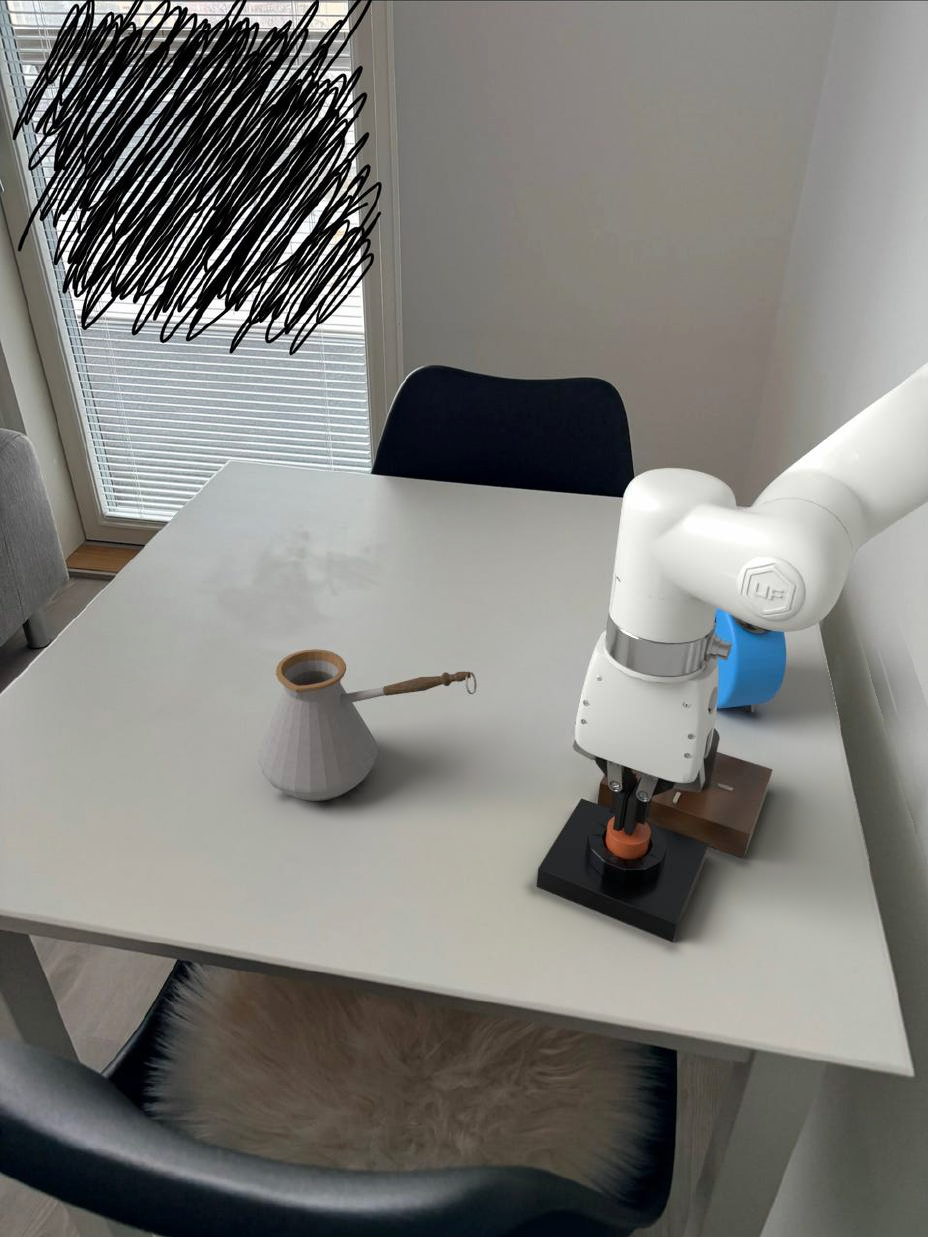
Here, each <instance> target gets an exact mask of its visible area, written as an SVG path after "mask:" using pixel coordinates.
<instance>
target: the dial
mask: <svg viewBox="0 0 928 1237" xmlns="http://www.w3.org/2000/svg"><path fill="white" fill-rule="evenodd" d="M720 738H721V737H720V733H719V731H718V730H717V728H715V727H714V731H713V737H712V742H711V747H710V750H709V753H708V756H707V758H703V761H704V771H705V782H704V784H703V787H702V789H703V788H705V787H707V786H708V785H709V784H710V782H711V778H712V774H713V769H714V764H715V759H716V754H717V752H718V749H719V745H720Z"/></svg>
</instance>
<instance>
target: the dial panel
mask: <svg viewBox="0 0 928 1237" xmlns="http://www.w3.org/2000/svg"><path fill="white" fill-rule="evenodd" d="M632 772H633V773H634V774H636V778H638V780H639V779H640V778H641V777H642V776H643V773H644V772H641V771H638V770H635V769H633V770H632ZM772 774H773V768H770V767H766V766H764V765H760V764H757V763H754V762H751V761H747V760H744V759H741V758H738V757H735V756H731V755H729V754H725V753H723V752H720V751H717V754H716V759H715V764H714V769H713V774H712V778H711V782H710V784H709V785H708V786H707V787H705V788H703V789H701V791H700V792H689V791H682V790H677V789H676V788H672V789H671V790H668V791H666V792H663V793H660V794H658V795H655V796H653V797H652V801H651V807H650V812H649V816H648V819H647V820H648V821H650V822H651V823H652V824H655V825H658V826H661V827H663V828H666V829H669V830H672V831H675V832H677V833H680V834H683V835H686V836H689V837H691V838H694V839H697V840H700V841H703V842H705V843H708V844H709V845H708V847H711V848H713V849H716V850H719V851H722V852H724V853H728V854H729V855H733V856H736V857H739V858H741V859H745V857H746V854H747V852H748V849H749V846H750V844H751V843H750V842H751V839H752V837H753V834H754V831H755V828H756V826H757V822H758V819H759V816H760V814H761V811H762V808H763V805H764V802H765V801H766V800H765V799H766V796H767V794H768V790H769V786H770V782H771V778H772ZM637 782H638V781H637ZM598 788H599V789H598V796H597V802H596V804H599V805H602V806H605V807H607V808H610V804H611V797H612V790H611V789H610V788H609V786H608V779H607V777H606V776H605V775H604V774H603V777H602V778H601V780H600V782H599V786H598Z"/></svg>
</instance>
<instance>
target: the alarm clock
mask: <svg viewBox="0 0 928 1237" xmlns="http://www.w3.org/2000/svg"><path fill="white" fill-rule="evenodd" d="M714 623H716V627H715V632H717V637H719V638H722V640H723V641H727V642H730V643H732V645H731V650H730V654H729V657H728V659H727V660H723V659H719V658H717V660H718V672H719V684H718V700H717V709H726V708H727V709H729V708H736V707H745V706H746V707H747V706H749V711H750V712H751V713H754V711H755V705H762V704H766V703H768V702H770V701H771V700H772V699H773V698H774V697H775V696H776V695H777V694H778V692H779V691H780V689H781V686H782V683H783V681H784V677H785V673H786V666H787V642H786V635H785V632H780V631H772V630H768V629H764V628H760V627H757V626H755V625H752V624H749V623H747V622H745V621H743V620H741V619H738V618H736V617H734V616H732V615H730V614H728V613H726V612H724V611H722V610H720V609H718V608H717V611H716V616H715V622H714Z"/></svg>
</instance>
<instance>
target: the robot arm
mask: <svg viewBox="0 0 928 1237" xmlns="http://www.w3.org/2000/svg"><path fill="white" fill-rule="evenodd" d="M927 503H928V361H927V362H926V363H925V364H923V365H922V366H920V367H919V368H918V369H917V370H916V371H914V372H913V373H912V374H910V376H908V377H907V378H906V379H905V380H903V381H902V382H901V383H899V384H898V385H897V386H896V387H894V388H892V389H891V390H890V391H888V392H887V393H885V394H884V395H882V396H881V397H880V398H878V399H877V400H875V401H874V402H873V403H871V404H870V405H869V406H867V407H865V409H863V410H861V411H860V412H859V413H858V414H856V415H855V416H853V417H852V418H851V419H849V420H848V421H847V422H846V423H844V424H843V425H842V426H841V427H839V428H837V429H836V430H835V431H834V432H833V433H832V434H830V435H829V436H828V437H826V438H825V439H824V440H823V441H821V442H820V443H819V444H817V445H816V446H815V447H814V448H812V449H811V450H809V451H808V452H807V453H806V454H804V455H803V456H801V458H799V459H798V460H796V461H795V462H794V463H793V464H791V465H790V466H789V467H787V469H785V470H784V471H783V472H782V473H781V474H780V475H778V476H777V477H776V478H774V480H772V482H770V483H769V484H768V486H766V487H765V489H763V491H762V492H761V493H760V494H759V495H758V497H757V498H756V499H755V500H754V502H753V503H752V505H751V506H750V507H745V508H739V507H738V505H737V500H736V496H735V493H734V492H733V490H732V489H731V487H730V486H729V485H728V484H727V483H726V482H724V481H723V480H722V479H721V478H718V477H716V476H714V475H711V474H709V473H706V472H702V471H698V470H694V469H689V468H681V467H664V468H663V467H662V468H654V469H650V470H647V471H644V472H642V473H640V474H639V475H636V476H635V477H634V478H633V479H632V480H631V481H630V482H629V483H628V485H627V487H626V489H625V491H624V493H623V497H622V503H621V509H620V518H619V526H618V527H619V528H618V534H617V541H616V543H617V544H616V548H615V558H614V566H613V575H612V582H611V590H610V600H609V605H608V606H609V608H608V614H607V622H606V630H604V631H603V632H601V634H600V636H599V638H598V640H597V642H596V644H595V647H594V649H593V652H592V655H591V658H590V661H589V664H588V666H587V671H586V675H585V678H584V682H583V686H582V690H581V694H580V699H579V703H578V707H577V713H576V718H575V727H574V742H573V743H572V749H573V750H574V751H575V752H576V753H578V754H579V755H581V756H583V757H585V758H586V759H588V760H590V761H593V762H594V763H595V764H596V766H597V767H598V769H600V771H601V772H602V774H603V776H604V775H605V776H606V777H607V779H608V786H609V788H610V789H611V790H612V797H611V804H610V813H612V814H615V818H614V825H613V830H616V831H620V830H621V831H622V830H623V828H624V830H623V832H625V834H627V835H629V836H632V834H633V832H634V830H635V828H636V826H637V824H638V823H640V824H643V825H645V823H646V821H647V819H648V816H649V812H650V807H651V801H652V797H653V796H655V795H658V794H660V793H663V792H666V791H668V790H671V789H672V788H676V789H677V790H682V791H689V792H700V791H701V789H702V787H703V784H704V782H705V771H704V761H703V758H707V756H708V753H709V750H710V747H711V742H712V737H713V731H714V728H715V724H716V716H717V709H718V708H717V700H718V684H719V672H718V660H717V658H719V659H723V660H727V659H728V657H729V654H730V650H731V645H732V643H730V642H727V641H723V640H722V638H719V637H717V632H715V627H716V623H714V622H715V616H716V611H717V608H718V609H720V610H722V611H724V612H726V613H728V614H730V615H732V616H734V617H736V618H738V619H741V620H743V621H745V622H747V623H749V624H752V625H755V626H757V627H760V628H764V629H768V630H772V631H780V632H784V633H791V632H792V633H793V632H799V631H803V630H806V629H809V628H811V627H813V626H816V624H818V623H820V622H822V620H824V619H825V617H827V616H828V615H829V614H830V612H831V611H832V610H833V608H834V607H835V605H836V604H837V603H838V600H839V598H840V596H841V594H842V591H843V588H844V586H845V584H846V581H847V579H848V576H849V574H850V571H851V568H852V565H853V563H854V560H855V558H856V556H857V554H858V552H859V549H861V547H863V546H864V545H865V544H867V543H868V542H869V541H871V540H872V539H873V538H875V537H876V536H878V535H879V534H880V533H882V532H884V531H885V530H887V529H888V528H889V527H892V525H894V524H895V523H897V522H898V521H900V520H902V519H903V518H904V517H906V516H909V514H911V513H913V512H914V511H915V510H918V509H919V508H921V507H922V506H923V505H925V504H927ZM633 769H635V770H638V771H641V772H644V773H643V776H642V777H641V778H640V779H639V780H638V778H636V774H634V773H633V772H632V770H633ZM637 781H638V782H637Z"/></svg>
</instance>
